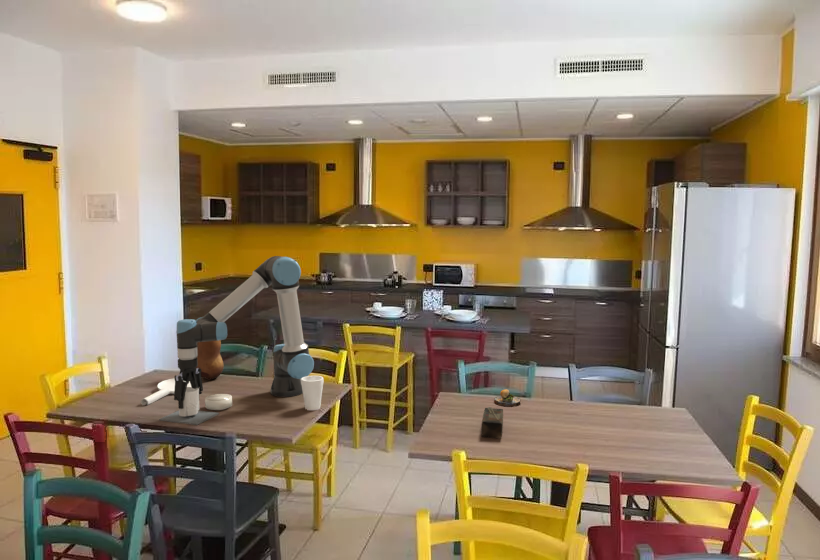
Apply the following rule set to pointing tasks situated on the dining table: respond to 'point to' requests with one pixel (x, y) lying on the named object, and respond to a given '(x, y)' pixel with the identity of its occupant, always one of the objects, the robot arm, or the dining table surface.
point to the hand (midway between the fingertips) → (189, 412)
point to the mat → (189, 417)
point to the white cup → (191, 401)
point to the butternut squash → (210, 359)
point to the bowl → (218, 401)
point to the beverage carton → (492, 423)
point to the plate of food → (506, 399)
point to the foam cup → (312, 391)
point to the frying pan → (162, 391)
